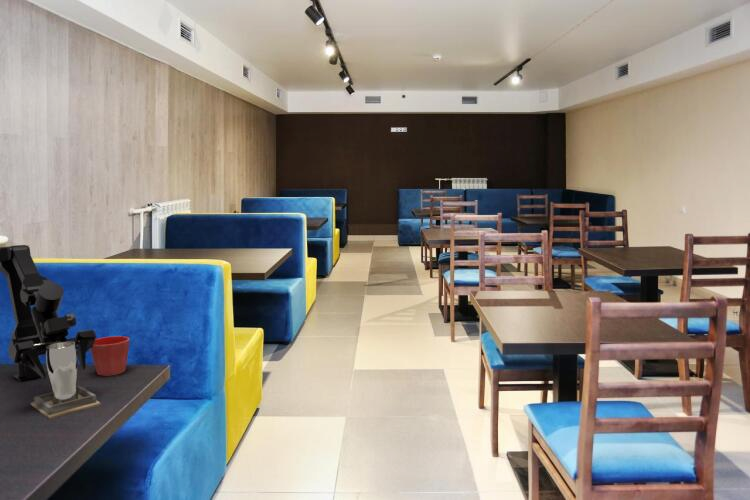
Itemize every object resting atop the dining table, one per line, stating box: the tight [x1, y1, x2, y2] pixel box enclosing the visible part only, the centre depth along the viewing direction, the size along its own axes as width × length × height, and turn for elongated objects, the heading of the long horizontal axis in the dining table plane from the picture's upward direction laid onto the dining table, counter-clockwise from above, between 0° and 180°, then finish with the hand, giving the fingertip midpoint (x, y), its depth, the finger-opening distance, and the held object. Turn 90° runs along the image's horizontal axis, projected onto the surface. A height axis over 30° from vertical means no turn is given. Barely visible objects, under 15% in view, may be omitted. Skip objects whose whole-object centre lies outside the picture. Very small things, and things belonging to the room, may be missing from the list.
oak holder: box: [30, 385, 102, 420], centre depth 152 cm, size 14×12×2 cm
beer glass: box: [45, 341, 79, 405], centre depth 151 cm, size 7×7×15 cm
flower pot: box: [89, 335, 130, 377], centre depth 177 cm, size 11×11×10 cm
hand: (64, 373), depth 150 cm, fingers open, 9 cm apart
